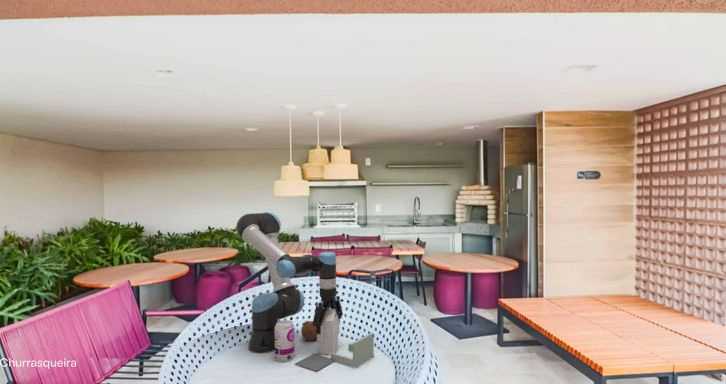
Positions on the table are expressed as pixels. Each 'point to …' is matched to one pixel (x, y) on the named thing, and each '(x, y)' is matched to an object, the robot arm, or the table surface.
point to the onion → (309, 331)
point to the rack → (357, 352)
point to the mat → (315, 362)
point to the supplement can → (284, 341)
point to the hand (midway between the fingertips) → (328, 336)
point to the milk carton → (329, 333)
